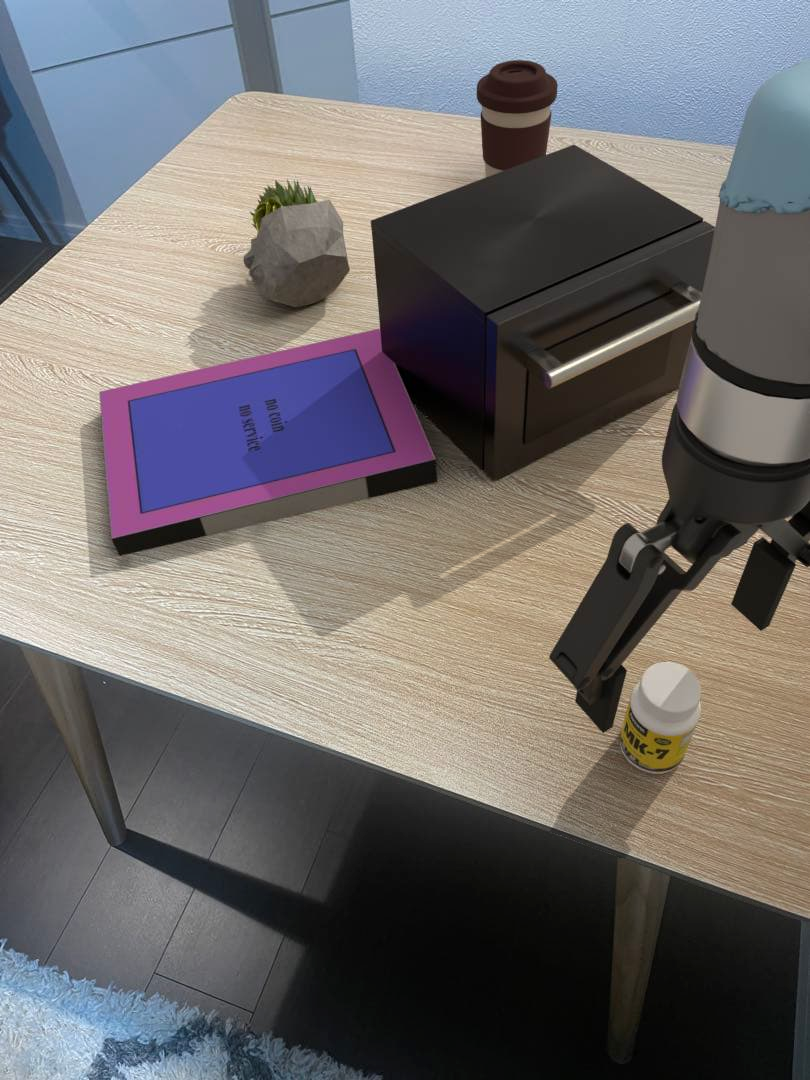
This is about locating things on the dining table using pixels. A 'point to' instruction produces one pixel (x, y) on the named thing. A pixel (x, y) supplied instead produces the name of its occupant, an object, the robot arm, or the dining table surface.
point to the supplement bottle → (661, 718)
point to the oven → (498, 268)
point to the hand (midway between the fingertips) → (674, 663)
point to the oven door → (590, 349)
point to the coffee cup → (515, 114)
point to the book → (258, 441)
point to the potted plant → (296, 247)
